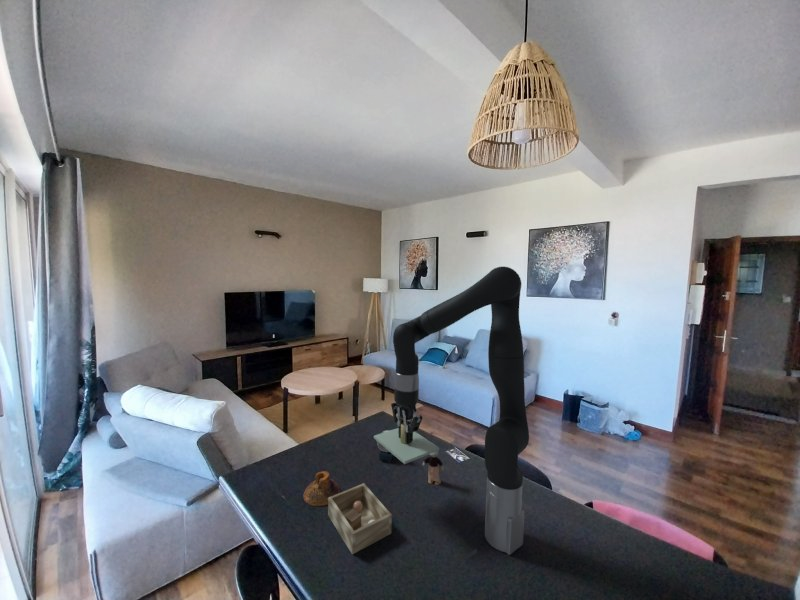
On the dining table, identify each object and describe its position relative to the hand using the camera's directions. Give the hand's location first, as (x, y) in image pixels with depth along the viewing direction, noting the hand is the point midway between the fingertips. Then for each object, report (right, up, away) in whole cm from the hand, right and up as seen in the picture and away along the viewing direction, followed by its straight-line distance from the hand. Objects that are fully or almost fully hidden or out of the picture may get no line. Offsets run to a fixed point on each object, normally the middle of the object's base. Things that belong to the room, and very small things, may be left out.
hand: (405, 439), depth 97 cm
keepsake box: (-14, -21, -8) cm, 26 cm away
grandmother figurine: (+10, -21, +13) cm, 26 cm away
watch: (-7, -19, +26) cm, 33 cm away
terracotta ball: (-15, -20, -3) cm, 25 cm away
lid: (0, -1, 0) cm, 1 cm away
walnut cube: (-15, -21, -9) cm, 27 cm away
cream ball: (-9, -21, -10) cm, 25 cm away
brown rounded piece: (-27, -21, +4) cm, 34 cm away
